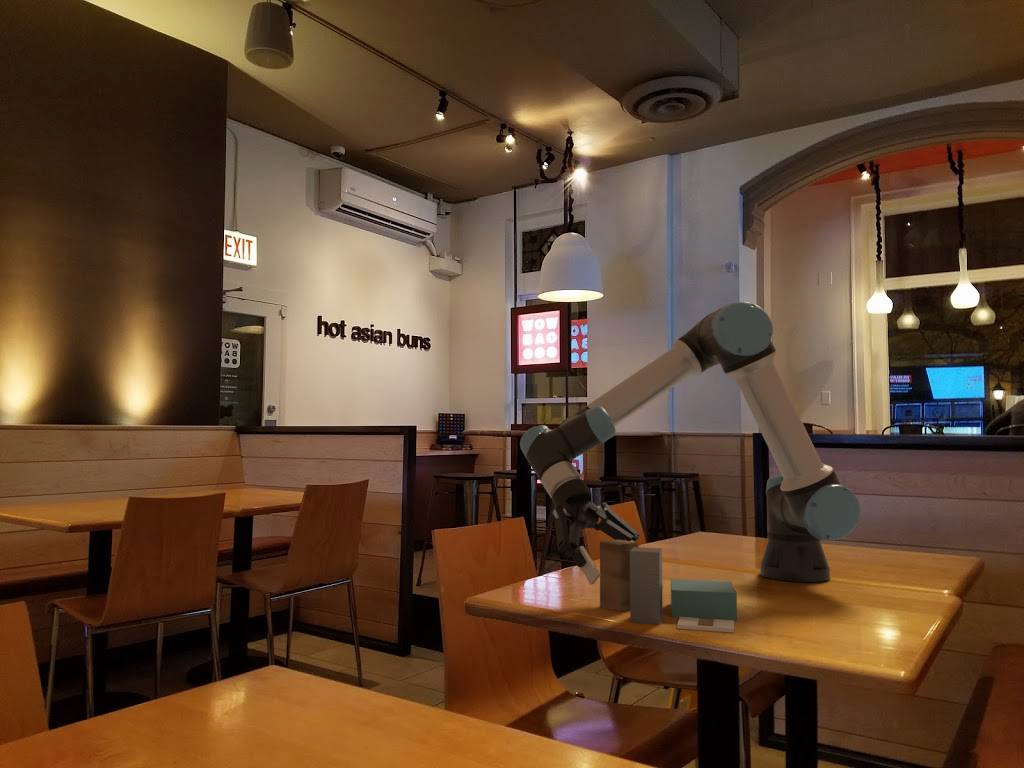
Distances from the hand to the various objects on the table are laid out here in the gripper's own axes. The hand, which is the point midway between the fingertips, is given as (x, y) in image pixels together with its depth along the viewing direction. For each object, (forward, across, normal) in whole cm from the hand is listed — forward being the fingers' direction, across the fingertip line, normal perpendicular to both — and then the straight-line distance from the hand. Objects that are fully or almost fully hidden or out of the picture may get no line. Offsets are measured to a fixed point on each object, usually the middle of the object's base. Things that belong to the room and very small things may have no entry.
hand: (622, 575), depth 139 cm
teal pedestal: (+12, -10, +3) cm, 16 cm away
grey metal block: (+10, +3, +2) cm, 11 cm away
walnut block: (+4, 0, -5) cm, 6 cm away
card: (+17, -1, +8) cm, 19 cm away
